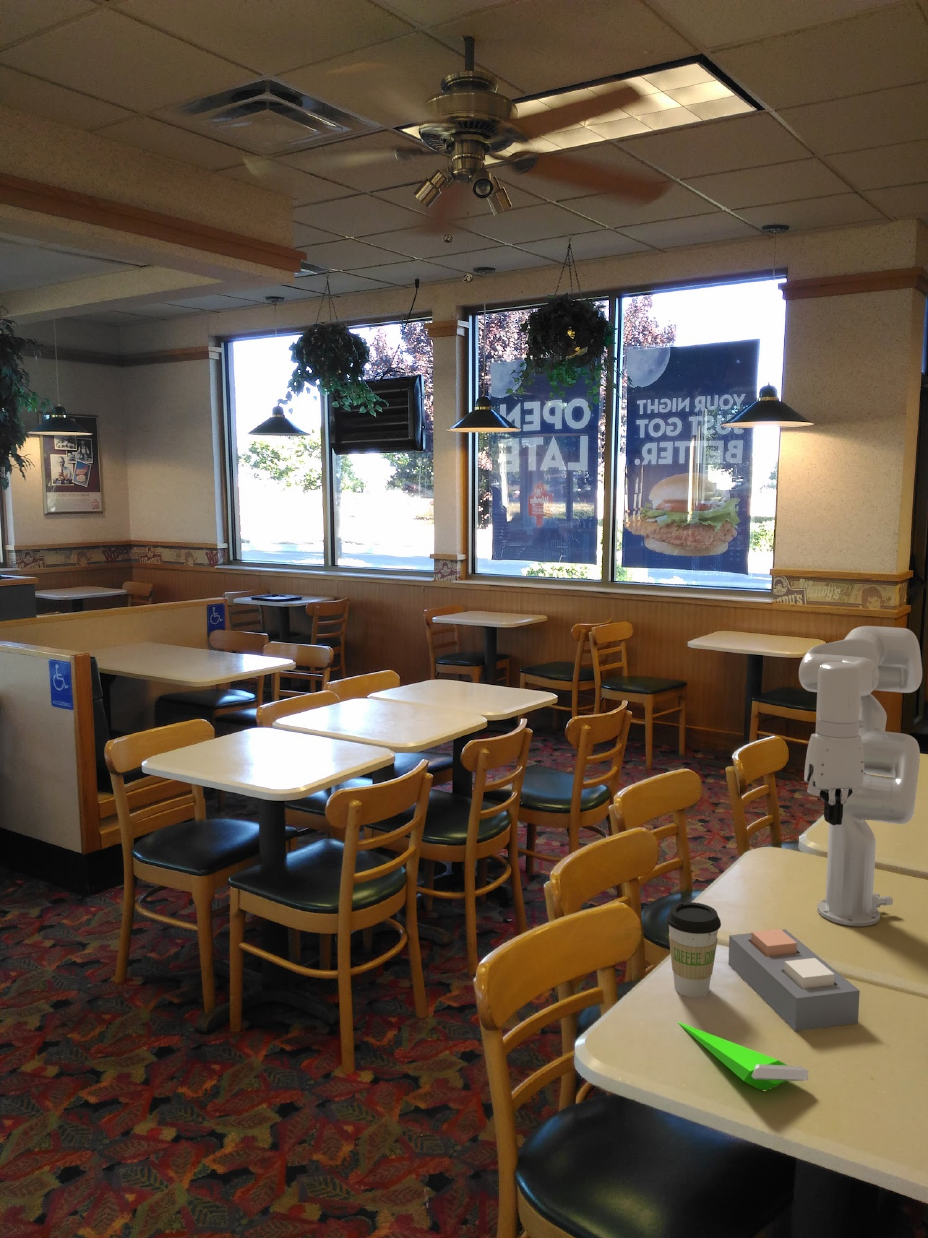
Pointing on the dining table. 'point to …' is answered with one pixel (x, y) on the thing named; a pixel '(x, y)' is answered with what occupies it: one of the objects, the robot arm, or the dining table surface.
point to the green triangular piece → (749, 1062)
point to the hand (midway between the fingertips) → (832, 822)
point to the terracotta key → (773, 942)
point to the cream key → (809, 973)
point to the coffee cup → (692, 946)
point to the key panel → (794, 987)
